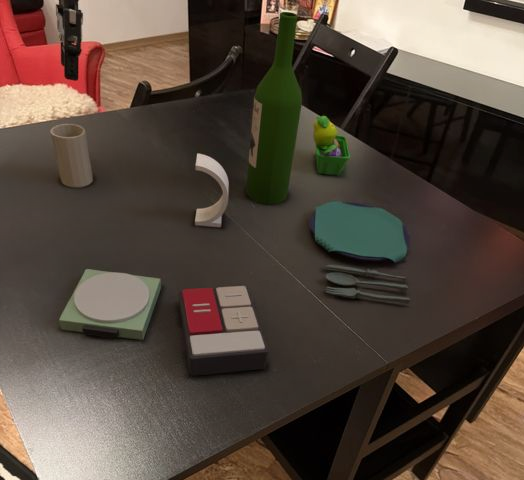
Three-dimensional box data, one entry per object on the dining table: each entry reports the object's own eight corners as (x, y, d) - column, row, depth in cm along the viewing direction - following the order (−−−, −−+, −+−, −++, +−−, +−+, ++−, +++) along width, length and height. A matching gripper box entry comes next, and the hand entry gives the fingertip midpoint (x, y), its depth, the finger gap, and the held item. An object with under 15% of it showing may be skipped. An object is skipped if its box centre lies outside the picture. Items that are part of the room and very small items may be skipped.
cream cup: (56, 185, 96) (45, 135, 89) (67, 170, 100) (57, 121, 93) (87, 189, 96) (78, 139, 89) (96, 174, 101) (89, 126, 93)
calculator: (247, 282, 76) (269, 347, 66) (245, 303, 79) (266, 369, 69) (178, 286, 74) (189, 354, 63) (178, 307, 77) (189, 376, 66)
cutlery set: (401, 217, 102) (405, 208, 100) (419, 311, 82) (423, 301, 80) (309, 203, 102) (311, 194, 100) (303, 294, 81) (306, 283, 80)
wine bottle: (240, 184, 104) (255, 5, 81) (279, 181, 107) (304, 7, 83) (252, 206, 99) (272, 20, 75) (292, 203, 101) (323, 23, 78)
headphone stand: (196, 212, 95) (197, 153, 86) (227, 215, 96) (230, 156, 87) (194, 225, 92) (195, 165, 83) (226, 227, 92) (230, 168, 84)
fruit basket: (345, 179, 111) (357, 130, 103) (307, 174, 111) (317, 125, 102) (340, 156, 119) (352, 109, 111) (305, 152, 118) (314, 104, 110)
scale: (59, 333, 69) (56, 320, 68) (88, 278, 78) (85, 265, 76) (142, 343, 70) (140, 331, 68) (161, 288, 78) (160, 275, 77)
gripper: (41, -54, 78) (44, 58, 88) (44, -46, 68) (48, 79, 78) (89, -40, 81) (87, 66, 91) (100, -30, 71) (96, 88, 81)
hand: (69, 72), depth 84 cm, fingers open, 8 cm apart
